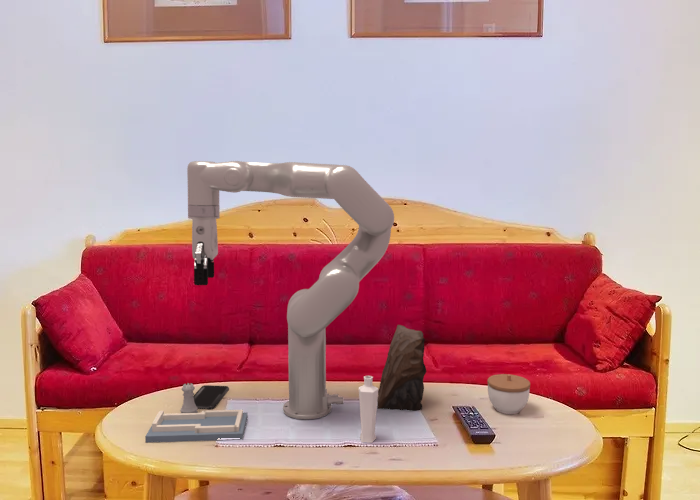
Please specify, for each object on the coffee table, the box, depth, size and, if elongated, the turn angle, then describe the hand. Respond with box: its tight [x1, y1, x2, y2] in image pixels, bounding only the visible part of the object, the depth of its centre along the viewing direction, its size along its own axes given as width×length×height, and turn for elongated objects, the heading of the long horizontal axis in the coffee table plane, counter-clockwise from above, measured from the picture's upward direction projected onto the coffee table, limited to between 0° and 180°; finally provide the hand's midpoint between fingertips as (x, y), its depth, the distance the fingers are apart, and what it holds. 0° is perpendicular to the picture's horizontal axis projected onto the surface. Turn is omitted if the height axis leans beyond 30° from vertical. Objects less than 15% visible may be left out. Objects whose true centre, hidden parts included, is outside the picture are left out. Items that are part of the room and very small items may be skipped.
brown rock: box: [377, 324, 427, 412], centre depth 160 cm, size 13×13×20 cm
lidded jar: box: [486, 373, 531, 415], centre depth 157 cm, size 11×11×9 cm
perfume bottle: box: [358, 375, 379, 444], centre depth 139 cm, size 5×4×15 cm
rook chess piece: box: [179, 382, 199, 413], centre depth 153 cm, size 4×4×8 cm
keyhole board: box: [144, 409, 249, 443], centre depth 145 cm, size 22×12×4 cm, turn 94°
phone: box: [193, 384, 229, 411], centre depth 165 cm, size 8×1×15 cm
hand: (204, 281), depth 150 cm, fingers open, 9 cm apart
